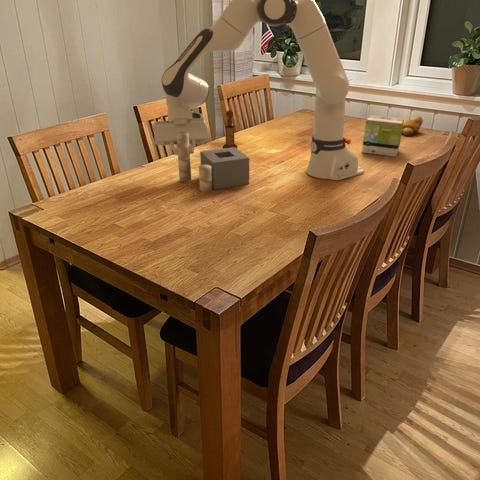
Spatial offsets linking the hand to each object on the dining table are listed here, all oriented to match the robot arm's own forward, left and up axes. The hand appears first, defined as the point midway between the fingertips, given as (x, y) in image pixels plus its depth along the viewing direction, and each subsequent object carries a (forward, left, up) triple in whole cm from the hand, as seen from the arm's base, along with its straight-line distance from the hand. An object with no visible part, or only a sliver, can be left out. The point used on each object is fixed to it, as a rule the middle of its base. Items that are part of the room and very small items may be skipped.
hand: (183, 153), depth 171 cm
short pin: (-4, +11, -11) cm, 16 cm away
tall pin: (0, -1, -11) cm, 11 cm away
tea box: (-90, -1, -11) cm, 91 cm away
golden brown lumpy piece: (-122, -20, -11) cm, 124 cm away
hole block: (-14, +4, -11) cm, 18 cm away
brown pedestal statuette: (-29, -28, -11) cm, 42 cm away
